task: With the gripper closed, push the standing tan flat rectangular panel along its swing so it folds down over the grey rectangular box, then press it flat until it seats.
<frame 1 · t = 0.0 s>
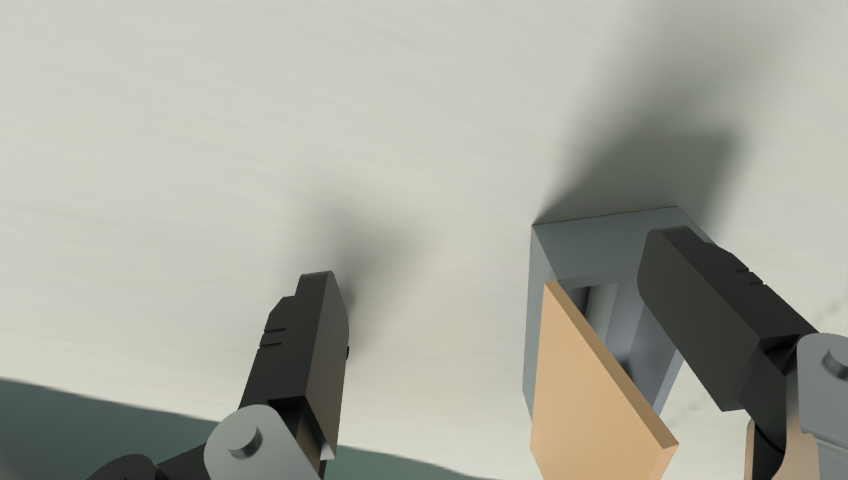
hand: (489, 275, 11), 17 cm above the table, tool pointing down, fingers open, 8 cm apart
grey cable: (594, 331, 37), in the grey rectangular box, point 1 cm above the table
tan flat rectangular panel: (576, 446, 29), point 12 cm above the table, hinge at 80.0°
grey rectangular box: (586, 314, 38), on the table
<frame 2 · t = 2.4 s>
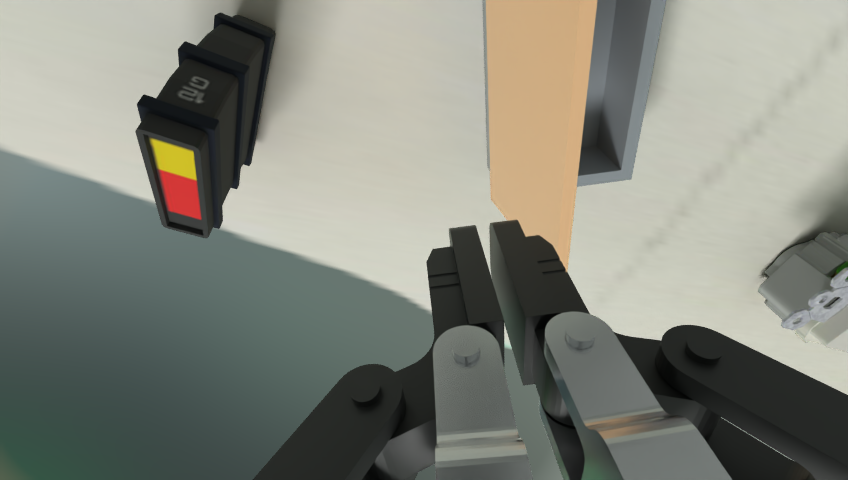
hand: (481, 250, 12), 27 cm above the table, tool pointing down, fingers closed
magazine: (243, 100, 35), on the table
tan flat rectangular panel: (527, 78, 24), point 12 cm above the table, hinge at 80.0°
grey rectangular box: (551, 32, 33), on the table
electrical outlet: (830, 272, 52), on the table
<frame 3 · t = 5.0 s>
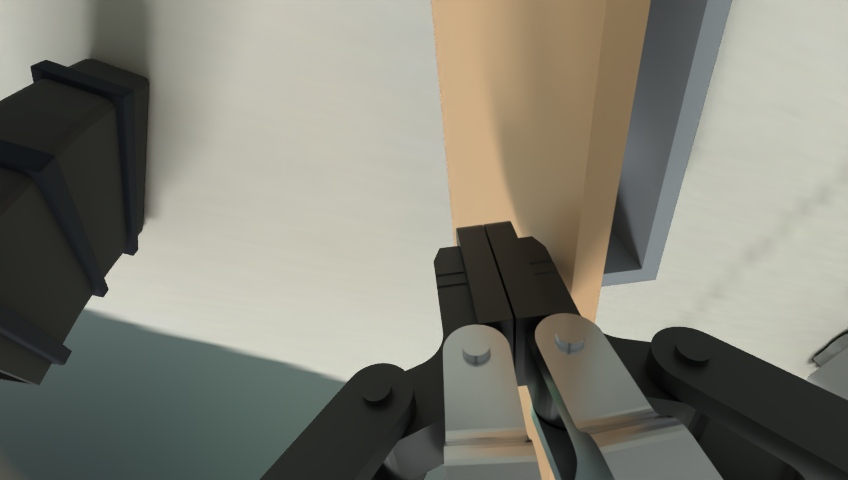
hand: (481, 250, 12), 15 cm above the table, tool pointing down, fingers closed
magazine: (121, 168, 26), on the table
tan flat rectangular panel: (499, 185, 14), point 11 cm above the table, hinge at 79.2°, touching gripper
grey rectangular box: (544, 78, 24), on the table
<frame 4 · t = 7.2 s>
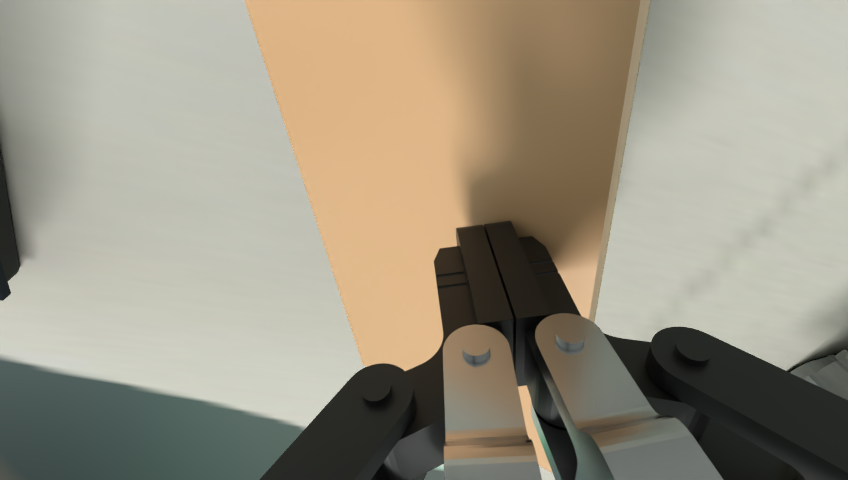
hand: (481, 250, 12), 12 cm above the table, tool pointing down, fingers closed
tan flat rectangular panel: (425, 213, 13), point 10 cm above the table, hinge at 39.1°, touching gripper
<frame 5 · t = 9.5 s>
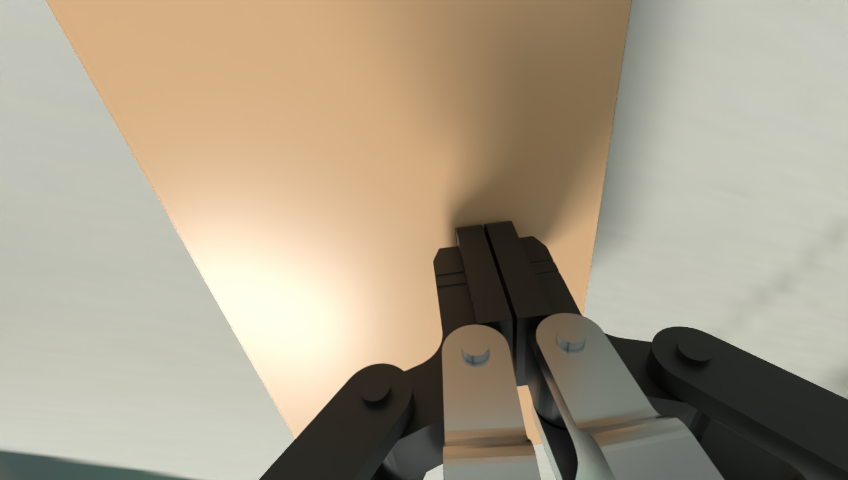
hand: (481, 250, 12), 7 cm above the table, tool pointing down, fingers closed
tan flat rectangular panel: (399, 251, 12), point 7 cm above the table, hinge at 0.7°, touching gripper
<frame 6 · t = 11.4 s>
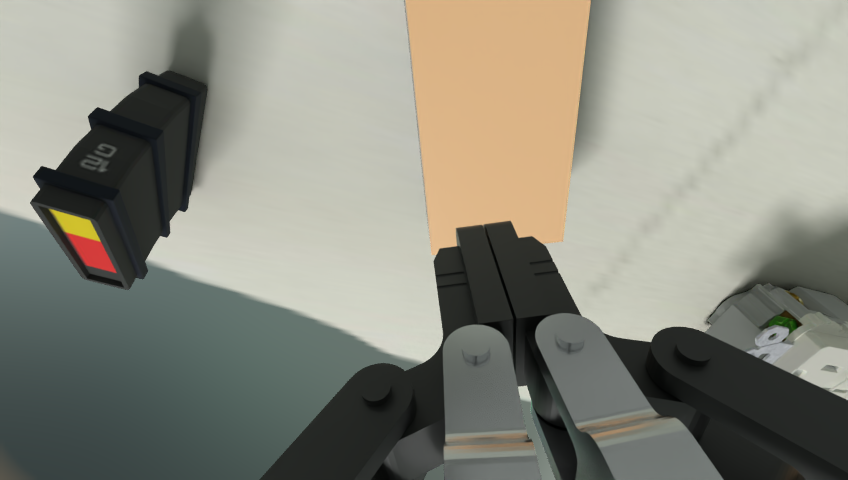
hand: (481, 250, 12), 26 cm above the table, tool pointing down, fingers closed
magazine: (180, 148, 36), on the table
tan flat rectangular panel: (497, 116, 29), point 7 cm above the table, hinge at 0.7°
electrical outlet: (776, 317, 53), on the table
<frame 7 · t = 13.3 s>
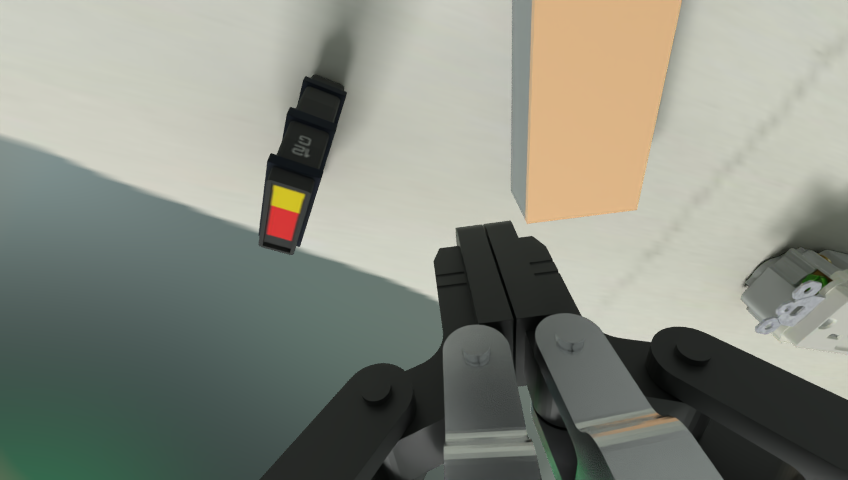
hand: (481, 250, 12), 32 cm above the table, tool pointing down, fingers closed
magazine: (312, 139, 43), on the table
tan flat rectangular panel: (593, 106, 36), point 7 cm above the table, hinge at 0.7°
grey rectangular box: (567, 85, 41), on the table
electrical outlet: (805, 278, 59), on the table
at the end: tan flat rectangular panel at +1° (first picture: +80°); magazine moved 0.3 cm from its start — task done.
